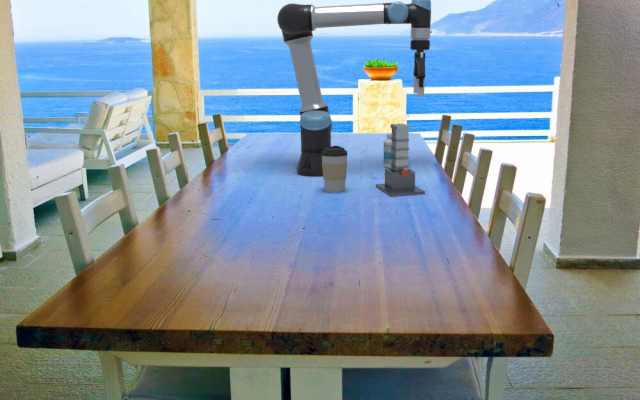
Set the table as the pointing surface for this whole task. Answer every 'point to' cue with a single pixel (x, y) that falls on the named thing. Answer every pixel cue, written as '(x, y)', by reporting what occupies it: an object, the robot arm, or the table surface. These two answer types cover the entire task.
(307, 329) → the table surface
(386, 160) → the pill bottle
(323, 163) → the coffee cup
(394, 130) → the column
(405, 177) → the stand
